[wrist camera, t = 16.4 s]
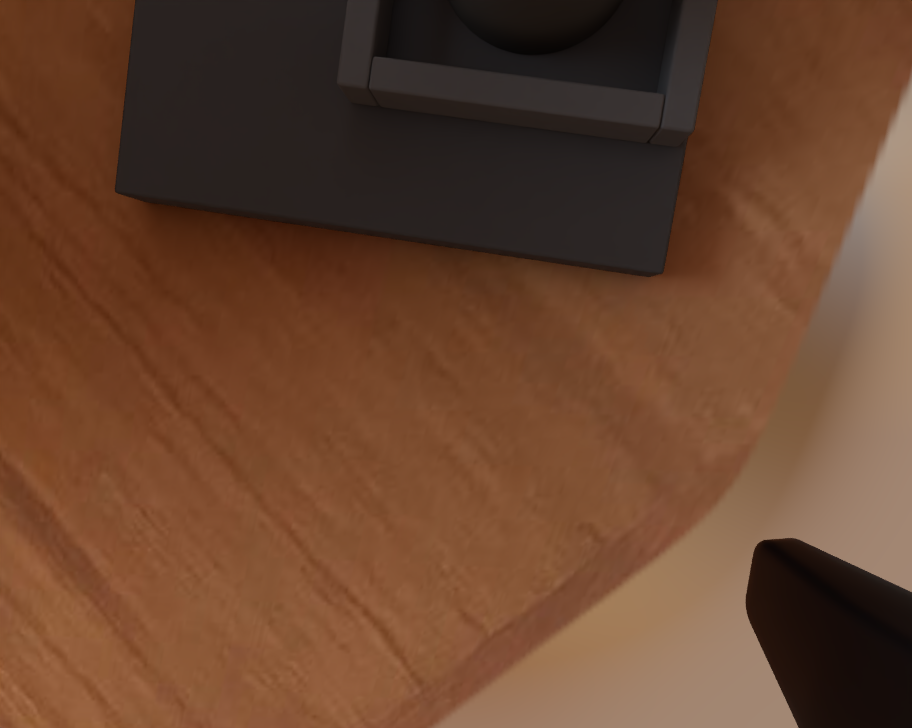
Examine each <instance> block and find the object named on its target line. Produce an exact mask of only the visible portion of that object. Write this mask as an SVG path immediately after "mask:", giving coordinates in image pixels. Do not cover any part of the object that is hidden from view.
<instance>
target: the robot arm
mask: <svg viewBox="0 0 912 728" xmlns="http://www.w3.org/2000/svg"><path fill="white" fill-rule="evenodd" d="M746 610H747V614H748V618H749V621H750V623H751V625H752V628H753V630H754V632H755V634H756V636H757V638H758V641H759V643H760V645H761V647H762V649H763V651H764V654H765V656H766V658H767V660H768V662H769V664H770V667H771V669H772V671H773V673H774V675H775V677H776V680H777V681H778V684H779V686H780V688H781V690H782V692H783V695H784V697H785V699H786V701H787V703H788V705H789V708H790V710H791V712H792V714H793V716H794V718H795V720H796V723H797V725H798V727H799V728H912V592H910V591H908V590H905V589H903V588H901V587H899V586H897V585H895V584H893V583H891V582H888V581H886V580H884V579H882V578H880V577H878V576H876V575H873V574H871V573H869V572H867V571H865V570H863V569H860V568H858V567H856V566H854V565H852V564H850V563H848V562H845V561H843V560H841V559H839V558H837V557H835V556H833V555H830V554H828V553H826V552H824V551H822V550H820V549H818V548H816V547H813V546H811V545H809V544H807V543H805V542H803V541H800V540H798V539H794V538H785V539H772V540H763V541H761V542H760V543H758V544H757V546H756V548H755V550H754V554H753V559H752V564H751V570H750V576H749V582H748V587H747V594H746Z"/></svg>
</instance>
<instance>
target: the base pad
mask: <svg viewBox="0 0 912 728" xmlns="http://www.w3.org/2000/svg"><path fill="white" fill-rule="evenodd" d="M717 1H718V0H623V1H622V3H621V4H620V6H619V8H618V9H617V10H616V12H615V13H614V14H613V16H612V17H611V18H610V19H609V20H608V21H607V22H606V23H605V24H604V25H603V26H602V27H601V28H600V29H599V30H598V31H597V32H595V33H594V34H593V35H591V36H590V37H589V38H587V39H585V40H584V41H582V42H580V43H578V44H576V45H574V46H572V47H569V48H567V49H564V50H560V51H557V52H553V53H547V54H532V55H528V54H519V53H513V52H510V51H506V50H502V49H500V48H498V47H495V46H493V45H491V44H489V43H487V42H485V41H484V40H482V39H480V38H479V37H478V36H477V35H475V34H474V33H473V32H471V31H470V30H469V29H468V28H467V27H466V26H465V25H464V23H463V22H462V21H461V20H460V19H459V17H458V16H457V15H456V13H455V12H454V10H453V8H452V7H451V5H450V3H449V1H448V0H135V9H134V18H133V27H132V36H131V46H130V55H129V64H128V74H127V83H126V92H125V101H124V111H123V120H122V129H121V138H120V148H119V157H118V166H117V175H116V185H115V192H116V193H118V194H121V195H124V196H128V197H131V198H134V199H137V200H141V201H144V202H150V203H157V204H164V205H170V206H177V207H184V208H190V209H197V210H204V211H211V212H217V213H224V214H231V215H237V216H244V217H251V218H257V219H264V220H271V221H277V222H284V223H291V224H298V225H304V226H311V227H318V228H324V229H331V230H338V231H344V232H351V233H358V234H364V235H371V236H378V237H385V238H391V239H398V240H405V241H411V242H418V243H425V244H431V245H438V246H445V247H451V248H458V249H465V250H472V251H478V252H485V253H492V254H498V255H505V256H512V257H518V258H525V259H532V260H538V261H545V262H552V263H559V264H565V265H572V266H579V267H585V268H592V269H599V270H605V271H612V272H619V273H625V274H632V275H639V276H646V277H651V276H655V275H659V274H662V273H663V271H664V266H665V261H666V255H667V250H668V244H669V238H670V233H671V227H672V222H673V216H674V211H675V205H676V200H677V194H678V189H679V183H680V177H681V172H682V166H683V161H684V155H685V150H686V144H687V139H688V136H689V135H690V134H691V133H692V132H693V131H694V128H695V123H696V117H697V112H698V106H699V101H700V95H701V90H702V84H703V78H704V73H705V67H706V62H707V56H708V51H709V45H710V40H711V34H712V29H713V23H714V18H715V12H716V7H717Z"/></svg>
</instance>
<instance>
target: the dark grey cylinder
mask: <svg viewBox="0 0 912 728" xmlns="http://www.w3.org/2000/svg"><path fill="white" fill-rule="evenodd" d="M448 1H449V3H450V5H451V7H452V8H453V10H454V12H455V13H456V15H457V16H458V17H459V19H460V20H461V21H462V22H463V23H464V25H465V26H466V27H467V28H468V29H469V30H470V31H471V32H473V33H474V34H475V35H477V36H478V37H479V38H480V39H482V40H484V41H485V42H487V43H489V44H491V45H493V46H495V47H498V48H500V49H502V50H506V51H510V52H513V53H519V54H528V55H532V54H547V53H553V52H557V51H560V50H564V49H567V48H569V47H572V46H574V45H576V44H578V43H580V42H582V41H584V40H585V39H587V38H589V37H590V36H591V35H593V34H594V33H595V32H597V31H598V30H599V29H600V28H601V27H602V26H603V25H604V24H605V23H606V22H607V21H608V20H609V19H610V18H611V17H612V16H613V14H614V13H615V12H616V10H617V9H618V8H619V6H620V4H621V3H622V1H623V0H448Z"/></svg>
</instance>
